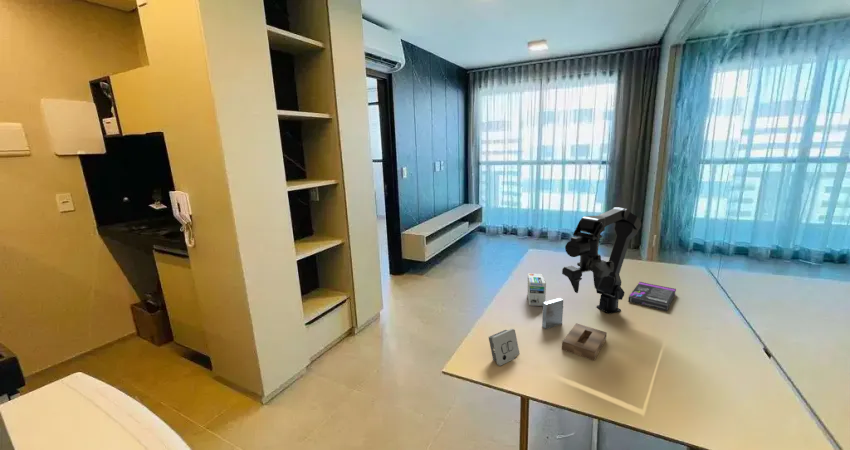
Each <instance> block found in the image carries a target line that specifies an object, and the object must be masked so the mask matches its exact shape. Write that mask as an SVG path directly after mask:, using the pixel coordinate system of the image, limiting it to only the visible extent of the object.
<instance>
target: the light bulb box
mask: <svg viewBox="0 0 850 450" xmlns="http://www.w3.org/2000/svg"><path fill="white" fill-rule="evenodd" d="M546 288H547V282H546V280H545V277H544V274H543V273H532V272H531V273H530V272H529V273H527V292H526V293H527V294H526V295H527V299H528V300H527V301H528V305H529V306H537V307H543V302H546V294H547V293H546V291H547V289H546Z"/></svg>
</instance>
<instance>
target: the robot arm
mask: <svg viewBox="0 0 850 450" xmlns="http://www.w3.org/2000/svg"><path fill="white" fill-rule="evenodd" d="M612 224H614V228H613V229H614V232H615V235H616V236H615V239H614V240H615V241H614V243H613V247H612V249H611V253H610V256H609V259H608V261H606V260H604V259H602V257H601V254H599V244H600V239H602V238H603V235H602V233H603V232H604V231H605V230H606V227H608V226H610V225H612ZM641 227H642V222H641V219H640V218H639V217H638V216H637V215H636V214H634V213H632V212H631V211H630V210H629V209H628V208H626V207H618V206H616V207H613V208H612V209H610V210H607V211H604V212H602V213H600V214H597V215H584V216H582V217H581V219H580V220H579V221H578V223H577V226H576V228H575V230H574V232H573V234H572V235H573V237H571V238H570V240H569V241H567V242H566V244H565V247H564V248H565V252H566V254H567V255H568V256H569V257H571V258H577V257H579V256H580V257H579V262H577V264H576V265H577V267H575V266H573V265H569V266H568V265H567V266H564V267H563V268H562V270H561V275H563V276H565V277H567V278H568V280H569V282H570V284H571V286H572V289H573V292H574V293H576V294H578V293H579V289H580V288H579V287H580V281H582V279H583V278H582V276H583V273H588V272H592V276H593V285H594V289H595V290H596V294H599V295H600V298H599V303H598V304H599V305H596V308H597V309H599V310H601V311H603V312H605V313H607V314H613V313H617V312H622V309H621V308H619V301H621V300H623V298H624V296H625V291H624V290H623V287H621V286H622V279H621V276H620V273H621V270H622V266H623V265H624V260H625V257H626V254H627V251H628V248H629V245H630V242H631V240H632V239H633V238H634V237H636V236H637V235H638V233H639V231H640V229H641Z"/></svg>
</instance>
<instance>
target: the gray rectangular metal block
mask: <svg viewBox="0 0 850 450" xmlns="http://www.w3.org/2000/svg"><path fill="white" fill-rule="evenodd" d="M563 311H564V299H563V298H561V297H558V298H555V299H551V300H547V301H545V302H543V306H542V322H541V324H542V325H541V327H542V328H543V329H545V330H548V329H551V328H554V327H556V326H560V325H563V316H564V315H563V314H564V313H563Z"/></svg>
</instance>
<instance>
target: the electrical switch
mask: <svg viewBox="0 0 850 450" xmlns="http://www.w3.org/2000/svg"><path fill="white" fill-rule="evenodd" d="M488 341H489V347H490V352H491V356H492V361H495V362H496V365H497V366H503V365H504V364H505V365H506V364H508V363H509V362H511V361H513V360H515V359H517V357H516V356H518V355H520V349H519V345H518V339H517V333H516V330H515V328H510V329H508V330H507V329H503V330H502V331H499V332H497V333H495V334H492V335H490V336H488Z"/></svg>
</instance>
